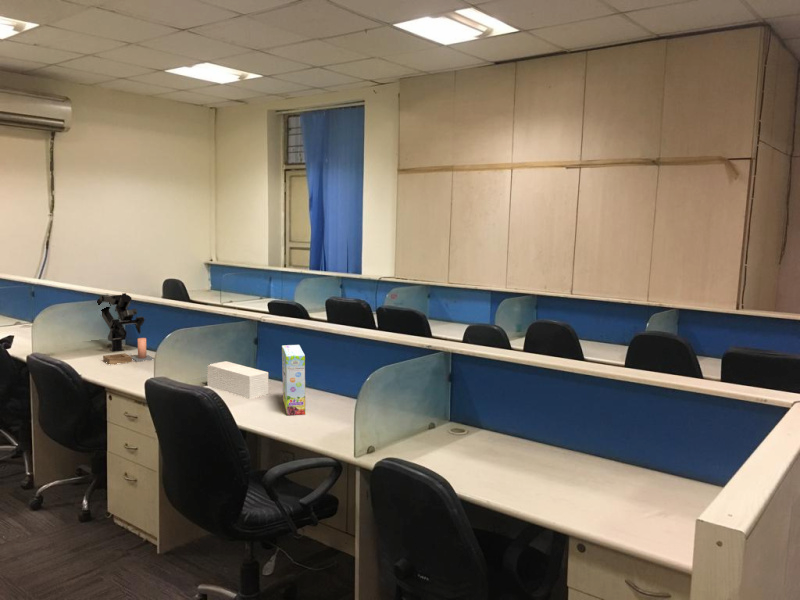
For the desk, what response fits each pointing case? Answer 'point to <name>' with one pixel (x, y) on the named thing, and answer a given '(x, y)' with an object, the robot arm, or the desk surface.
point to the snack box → (293, 379)
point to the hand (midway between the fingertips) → (132, 334)
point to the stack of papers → (238, 379)
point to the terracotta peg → (142, 348)
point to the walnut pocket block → (117, 358)
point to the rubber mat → (143, 358)
